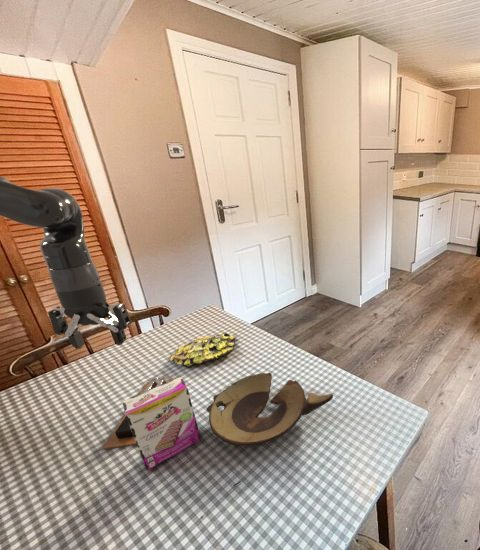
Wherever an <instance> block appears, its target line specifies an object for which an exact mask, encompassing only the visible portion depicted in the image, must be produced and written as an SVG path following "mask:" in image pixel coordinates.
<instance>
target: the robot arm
mask: <svg viewBox="0 0 480 550" xmlns="http://www.w3.org/2000/svg"><path fill="white" fill-rule="evenodd" d="M0 217H2V218H5V219H8V220H11V221H13V222H16V223H18V224H22V225H24V226H29V227H33V228H34V227H35V228H39V229H43V233H44V234H43V238H42V240H41V242H40V244H39V248H40V252H41V255H42V257H43V259H44V262H45V265H46V267H47V270H48V272H49V273H48V275H49V278H50V282H51V284H52V286H53V288H54V291H55V294H56V295H57V298H58V301H59V303H60V305H59V306H56V307H54V308H52V309H51V310H49V311H48V313H47V314H48V317H49V320H50V324H51V326H52V329H53V332H54V333H55V334H56V335H59V336H60V335H65V336H67V338H68V339H69V342H70V345H71V346H72V347H73V348H74V349H75V350H79V349H82V347H84V346H85V345H86V344H85V340H84V337H83V335H82V333H81V330H79V329H80V328H81V326H82V327H85V326H98V325H100V326H101V327H103V328H107V329H109V330H110V331H112V335H113V338H114V341H115V344H116V345H117V346H122V345H123V344H124V343H125V342H126V340H127V335H126V332H125V330H126V329H127V328H128V327H130V325H131V324H132V320H131V317H130V315H129V311H128V310H127V307H126V305H125V303H124V302H122V301H119V303H115V304H109V303H108V301H107V295H106V292H105V288H104V287H103V283H102V279H101V277H100V275H99V271H98V269H97V267H96V266H95V263H94V261H93V259H92V256H91V253H90V250H89V248H88V244H87V243H86V239H85V226H84V217H83V211H82V208H81V206H80V204H79V202H78V200H77V199H76V198H75V196H73V195H72V194H71V193H69V192H68V191H66V190H64V189H62V188H58V187H45V188H40V189H31V188H26V187H24V186H20V185H17V184H14V183H13V182H11V181H10V180H9V179H8V178H7V177H5V176H2V175H0ZM66 317H68V318H69V319H71V320H70V322H69V323H68V321H67V318H66ZM106 319H108V320H106Z"/></svg>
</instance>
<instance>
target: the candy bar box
mask: <svg viewBox="0 0 480 550" xmlns="http://www.w3.org/2000/svg"><path fill="white" fill-rule="evenodd" d="M174 379H175V380H172V381H170V382H168V383H165V384H163V385H161V386H158V387H156V388H153V389H151V390H149V391H146V392H144V393H141V394H140V393H139V394H137V395H134V396H132V397H130V398H127V399H125V400H123V401H121V403H122V407H123V411H124V415H125V414H126V417H127V420H128V422H129V425H130V428H131V430H132V433H133V436H134V439H135V441H136V444H135V445H136V446H137V450H138V451H139V454H140V457H141V460H142V462H143V465H144V468H145V470H146V471H147V472H148V471H150V470H152V469H154V468H156V467H157V466H159V465H161V464H162V463H164V462H166V461H167V460H169V459H171V458H173V457H175V456H176V455H178V454H180V453H181V452H183V451H185V450H187V449H189V448H190V447H192V446H194V445H195V444H197V443H199V442H201V441H202V437H201V434H200V429H199V425H198V422H197V418H196V414H195V411H194V407H193V403H192V400H191V396H190V392H189V388H188V386H187V384H186V382H185V380H184V379H183V377H182V376H179V377H177V379H176V378H174Z"/></svg>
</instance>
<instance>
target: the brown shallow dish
mask: <svg viewBox="0 0 480 550" xmlns="http://www.w3.org/2000/svg"><path fill="white" fill-rule="evenodd" d="M272 377H273V375H272V373H270V372H266V373H265V372H263V373H261V372H260V373H255V374H251V375H248V376H245V377H242V378H240V379H237V381H235V382H233V383H231V384H230V385H228V386H227V387H225V388H224V389H223V390H222V391H221V392H219V393H217V394H215V395H214V396H213V398H212V400H213V402H212V403H211V404H209V405H208V406H207V407H206V411H207V412H208V413H209V414H208V422H209V426H210V429H211V432H212V433H213V434H214V435H215V436H216V437H217V438H218V439H219V440H222V441H223V442H225V443H227V444H230V445H234V446H240V447H241V446H242V447H255V446H261V445H265V444H267V443H270V442H273V441H275V440H277V439H278V438H280V437H282V436H283V435H285V434H287V433H288V432H289V431H291V430H292V428H294V426H295V425H296V424H297V423H298V422H299V420H300V419H301V417H302V416H306V415H309V414H311V413H312V412H314V411H315V410H318V409H319V408H321V407H322V406H324V405H326V404H327V403H329V402H330V401H332V399H333V398H334V394H332V393H327V394H323V395H319V394H317V393H315V392H310V393H309V394H308V395H307V398H306V393H305V391H304V388H303V386H302V385H301V384H300V383H299V381H297V380H292V379H289V380H287V382H286V383H285V384H284V385H283V386H282V388H281V389H280V390H279V391H278V392H277V393H276V394H275V395H274V396H273V397H272V398H271V399H270V401H269V398H270V393H271V387H272V379H273V378H272ZM268 402H269V403H270V404H274V405H277V407H276V408H275V409H274V408H271V410H273V411H272V412H271V414H269V416H263V417H262V416H261V417H257V416H258V415H259V414H260V413H261V412H262V411H263V410H264V409H265V408H266V406H267V404H268ZM220 407H223V409H222V410H220V409H219V408H220Z"/></svg>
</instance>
